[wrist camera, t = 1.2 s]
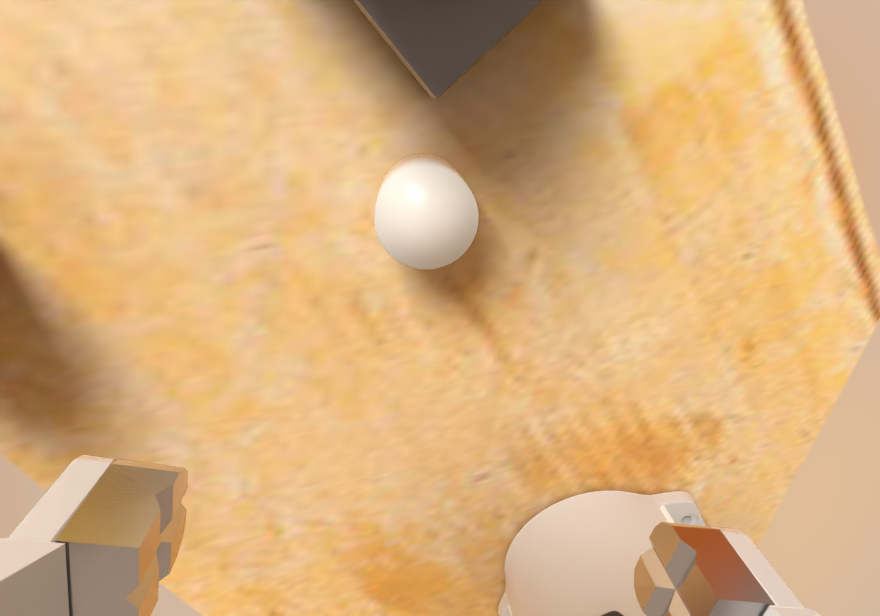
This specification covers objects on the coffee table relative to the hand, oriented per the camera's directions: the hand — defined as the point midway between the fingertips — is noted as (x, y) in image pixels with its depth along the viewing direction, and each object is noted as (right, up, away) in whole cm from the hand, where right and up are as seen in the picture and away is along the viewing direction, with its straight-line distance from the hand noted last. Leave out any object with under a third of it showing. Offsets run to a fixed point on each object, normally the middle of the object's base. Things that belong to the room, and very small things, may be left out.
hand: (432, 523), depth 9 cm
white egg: (-1, +10, +22) cm, 24 cm away
